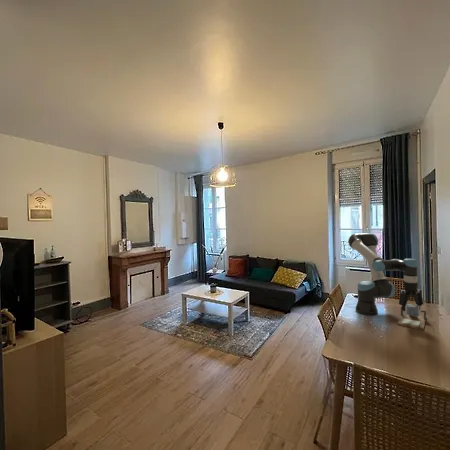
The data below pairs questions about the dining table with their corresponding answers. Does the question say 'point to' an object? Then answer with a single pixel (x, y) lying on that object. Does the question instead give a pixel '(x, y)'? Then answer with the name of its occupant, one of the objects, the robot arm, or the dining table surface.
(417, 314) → the cap
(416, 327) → the base
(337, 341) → the dining table surface
